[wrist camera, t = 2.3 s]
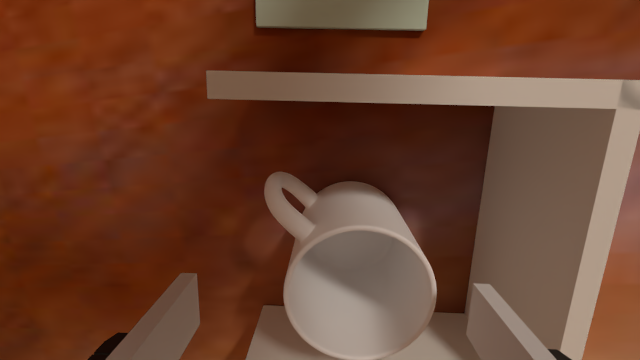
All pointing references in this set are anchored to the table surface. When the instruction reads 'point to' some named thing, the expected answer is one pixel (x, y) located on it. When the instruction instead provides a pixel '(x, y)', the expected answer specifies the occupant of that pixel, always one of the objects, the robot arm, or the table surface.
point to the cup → (351, 270)
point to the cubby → (498, 195)
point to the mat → (343, 14)
